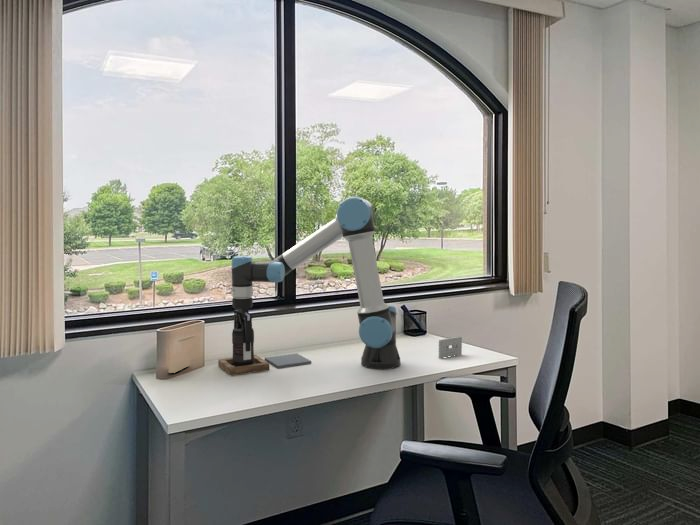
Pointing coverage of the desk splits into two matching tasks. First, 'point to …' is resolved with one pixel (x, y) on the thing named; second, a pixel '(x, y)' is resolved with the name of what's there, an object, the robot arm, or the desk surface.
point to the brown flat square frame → (256, 367)
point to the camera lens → (240, 348)
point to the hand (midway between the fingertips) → (243, 356)
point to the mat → (287, 360)
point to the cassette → (446, 351)
